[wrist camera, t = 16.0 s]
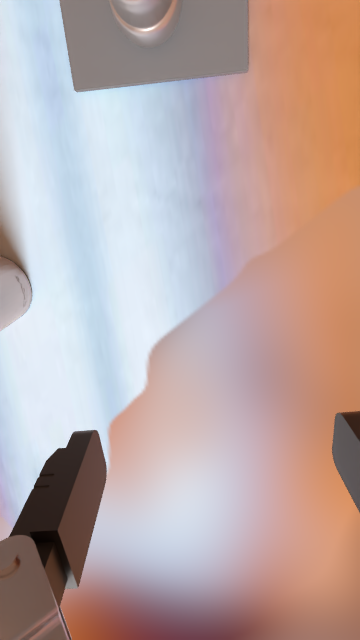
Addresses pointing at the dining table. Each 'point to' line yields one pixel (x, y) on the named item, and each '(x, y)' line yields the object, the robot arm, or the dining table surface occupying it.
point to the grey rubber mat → (158, 62)
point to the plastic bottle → (146, 20)
